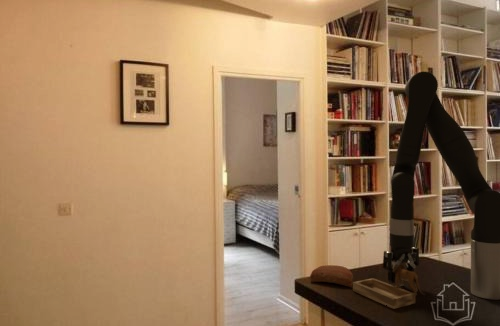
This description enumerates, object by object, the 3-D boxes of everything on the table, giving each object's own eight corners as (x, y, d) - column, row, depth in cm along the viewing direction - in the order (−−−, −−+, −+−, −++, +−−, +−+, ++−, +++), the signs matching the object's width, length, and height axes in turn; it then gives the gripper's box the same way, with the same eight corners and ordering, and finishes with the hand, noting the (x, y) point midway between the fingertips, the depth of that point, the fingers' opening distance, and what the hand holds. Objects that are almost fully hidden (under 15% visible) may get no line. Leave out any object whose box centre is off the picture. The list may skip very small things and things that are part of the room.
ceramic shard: (360, 262, 142) (352, 280, 129) (358, 278, 143) (350, 297, 130) (321, 253, 148) (309, 269, 135) (320, 268, 150) (308, 286, 136)
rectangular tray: (373, 286, 131) (373, 278, 131) (415, 303, 116) (415, 293, 116) (352, 290, 127) (352, 282, 127) (393, 308, 112) (393, 299, 112)
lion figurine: (382, 284, 133) (382, 258, 133) (393, 282, 135) (393, 256, 135) (419, 298, 120) (419, 269, 120) (431, 295, 122) (431, 266, 122)
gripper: (395, 236, 122) (394, 287, 122) (426, 232, 128) (425, 280, 129) (377, 232, 128) (376, 280, 129) (407, 228, 135) (406, 274, 135)
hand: (401, 280), depth 129 cm, fingers open, 8 cm apart
